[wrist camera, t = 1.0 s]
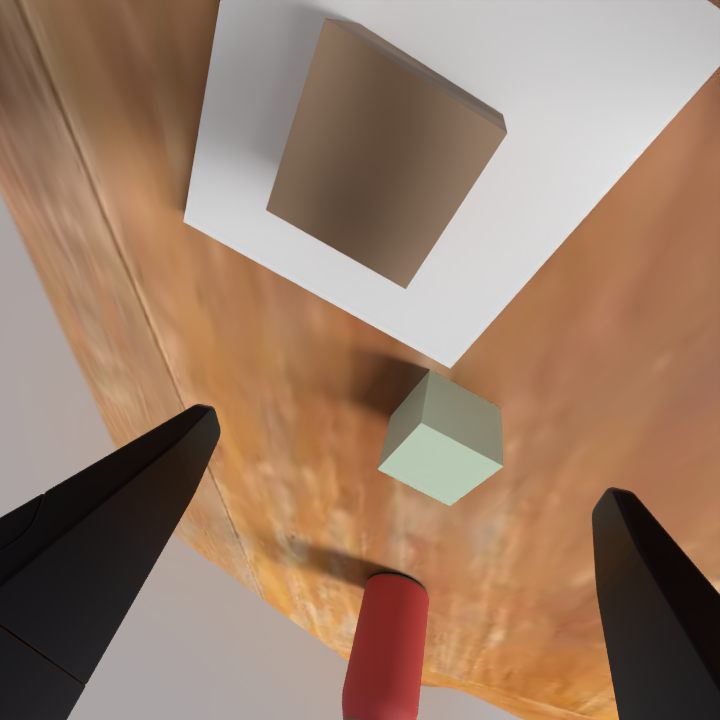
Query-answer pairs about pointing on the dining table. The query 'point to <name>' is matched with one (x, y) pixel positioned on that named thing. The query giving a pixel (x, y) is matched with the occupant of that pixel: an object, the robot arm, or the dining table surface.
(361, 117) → the walnut block
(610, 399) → the dining table surface
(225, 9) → the build plate
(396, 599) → the beer can
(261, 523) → the dining table surface
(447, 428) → the green block
